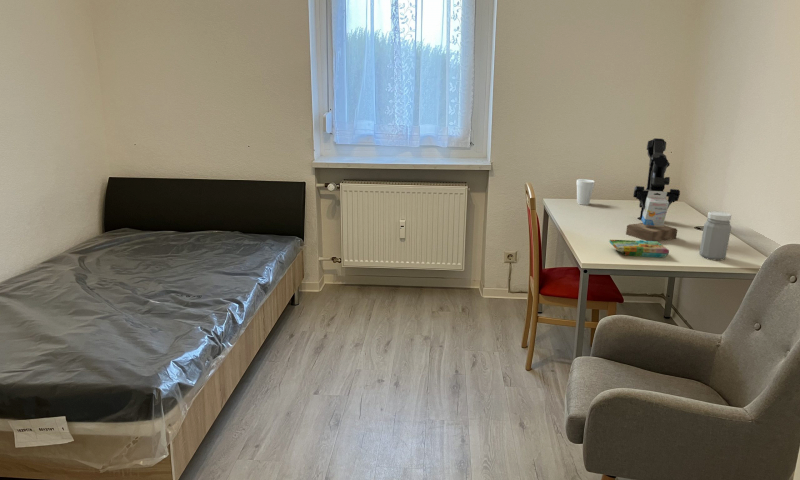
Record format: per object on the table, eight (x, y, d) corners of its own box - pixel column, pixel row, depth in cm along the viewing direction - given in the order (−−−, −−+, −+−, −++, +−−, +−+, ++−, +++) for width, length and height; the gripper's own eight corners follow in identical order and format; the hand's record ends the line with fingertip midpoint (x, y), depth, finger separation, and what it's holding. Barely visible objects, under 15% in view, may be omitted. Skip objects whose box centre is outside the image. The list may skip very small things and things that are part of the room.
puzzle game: (669, 248, 240) (617, 245, 241) (667, 259, 241) (616, 256, 242) (659, 239, 251) (609, 237, 252) (657, 250, 252) (608, 248, 253)
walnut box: (650, 231, 283) (651, 221, 282) (675, 239, 271) (677, 228, 270) (625, 235, 276) (627, 224, 275) (651, 243, 264) (652, 232, 263)
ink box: (643, 225, 270) (650, 195, 263) (640, 220, 275) (647, 190, 268) (663, 226, 270) (671, 196, 263) (660, 221, 274) (667, 191, 267)
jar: (696, 252, 251) (704, 209, 246) (722, 255, 248) (730, 212, 243) (700, 259, 242) (708, 215, 237) (727, 262, 239) (736, 217, 234)
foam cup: (571, 203, 336) (574, 180, 333) (577, 201, 343) (580, 178, 340) (588, 206, 331) (591, 182, 327) (594, 203, 338) (597, 180, 335)
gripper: (637, 168, 272) (635, 197, 265) (682, 171, 266) (681, 201, 259) (634, 182, 281) (631, 210, 274) (678, 186, 276) (676, 215, 269)
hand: (655, 209), depth 269 cm, fingers closed on ink box, 9 cm apart
